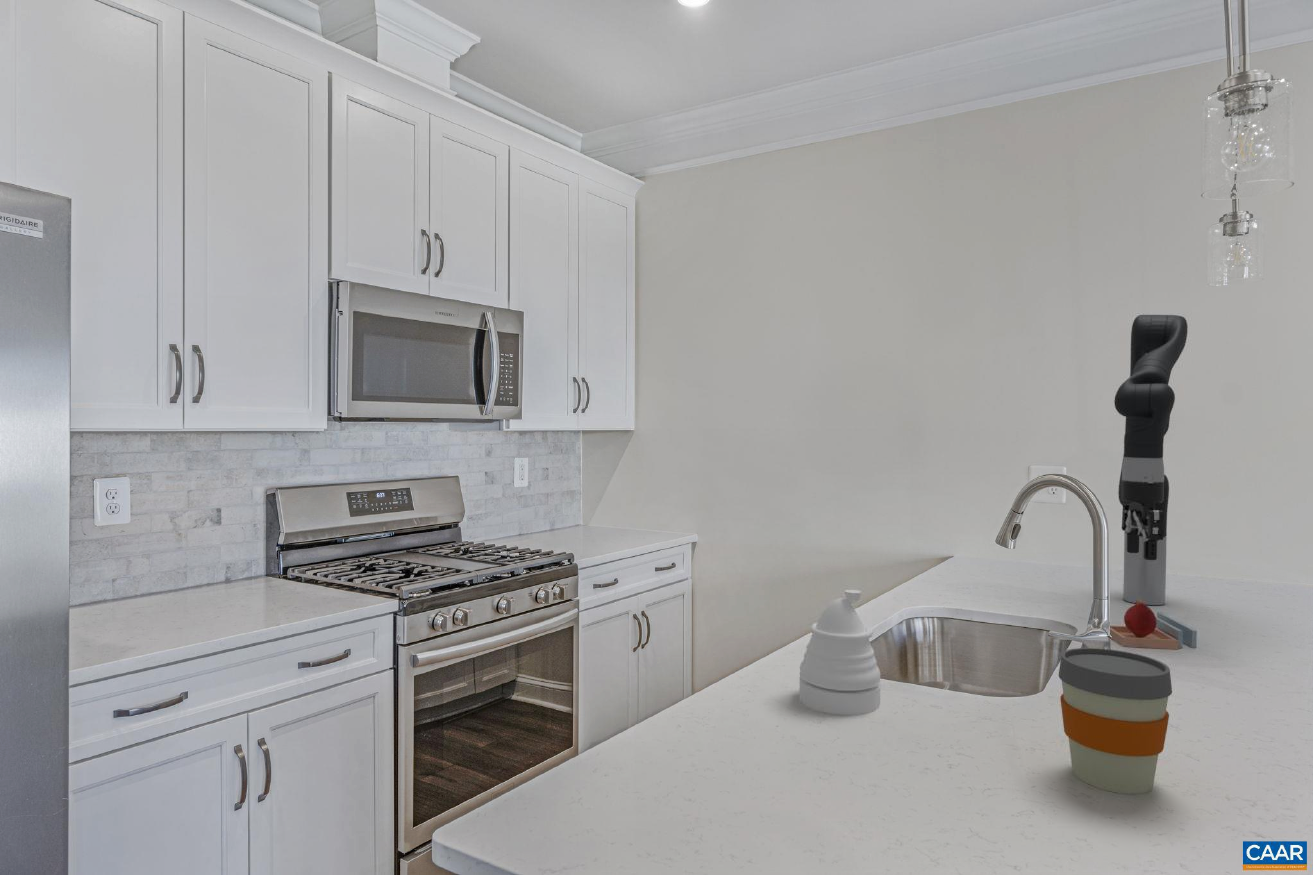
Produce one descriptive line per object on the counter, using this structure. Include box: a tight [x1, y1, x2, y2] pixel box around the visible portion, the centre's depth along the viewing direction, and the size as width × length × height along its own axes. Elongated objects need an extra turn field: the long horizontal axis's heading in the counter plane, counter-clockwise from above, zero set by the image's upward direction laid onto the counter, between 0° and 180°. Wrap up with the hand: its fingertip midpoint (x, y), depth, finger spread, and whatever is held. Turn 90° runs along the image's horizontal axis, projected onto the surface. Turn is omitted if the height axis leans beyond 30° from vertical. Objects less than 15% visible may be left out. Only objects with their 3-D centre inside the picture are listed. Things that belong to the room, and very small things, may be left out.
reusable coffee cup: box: [1058, 647, 1173, 795], centre depth 101 cm, size 13×13×15 cm
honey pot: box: [798, 589, 881, 716], centre depth 128 cm, size 13×13×18 cm
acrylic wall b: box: [1155, 615, 1184, 649], centre depth 168 cm, size 16×1×4 cm, turn 170°
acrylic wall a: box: [1156, 611, 1198, 649], centre depth 168 cm, size 16×1×4 cm, turn 170°
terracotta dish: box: [1110, 625, 1179, 650], centre depth 165 cm, size 10×10×2 cm
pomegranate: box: [1123, 600, 1157, 638], centre depth 165 cm, size 6×6×8 cm
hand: (1141, 556), depth 165 cm, fingers open, 8 cm apart
